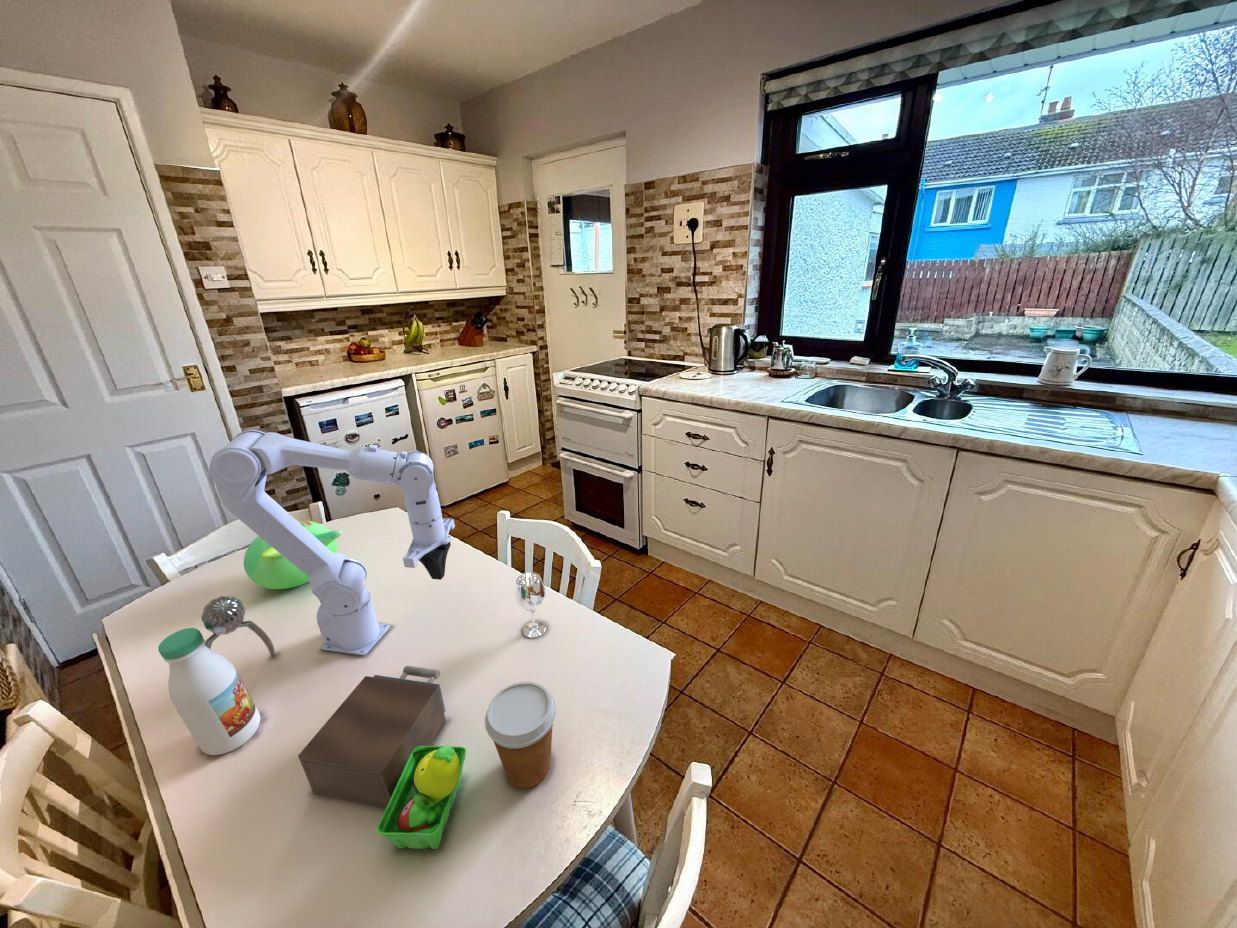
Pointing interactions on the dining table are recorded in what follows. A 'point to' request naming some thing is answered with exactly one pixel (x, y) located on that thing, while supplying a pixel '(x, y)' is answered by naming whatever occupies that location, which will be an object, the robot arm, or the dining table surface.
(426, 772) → the fruit basket
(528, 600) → the wineglass
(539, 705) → the disposable coffee cup
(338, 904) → the dining table surface
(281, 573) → the toy bird
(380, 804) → the cabinet
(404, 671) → the drawer
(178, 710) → the milk bottle
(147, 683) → the dining table surface
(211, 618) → the juicer
